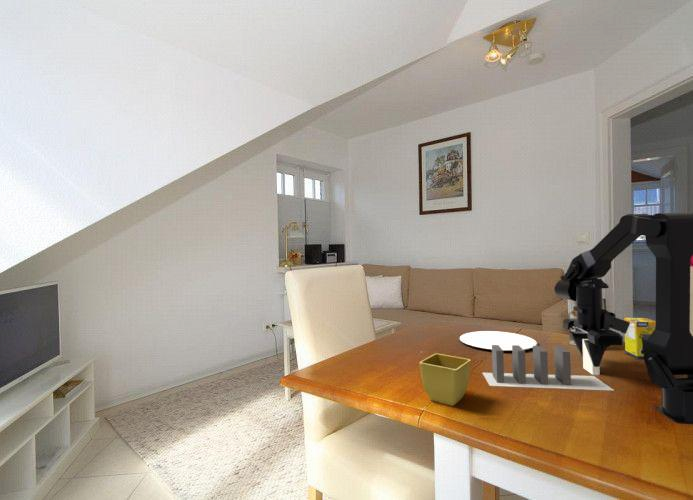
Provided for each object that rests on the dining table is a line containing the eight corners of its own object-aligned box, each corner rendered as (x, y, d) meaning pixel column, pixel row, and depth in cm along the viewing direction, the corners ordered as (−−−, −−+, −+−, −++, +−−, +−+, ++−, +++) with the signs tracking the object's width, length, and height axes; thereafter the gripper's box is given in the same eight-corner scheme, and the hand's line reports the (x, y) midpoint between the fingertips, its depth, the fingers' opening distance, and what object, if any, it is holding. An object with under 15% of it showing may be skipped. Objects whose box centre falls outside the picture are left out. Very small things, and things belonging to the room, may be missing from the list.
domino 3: (548, 384, 84) (547, 351, 84) (541, 384, 84) (540, 351, 84) (540, 377, 89) (539, 345, 89) (533, 376, 89) (532, 345, 89)
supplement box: (660, 359, 100) (659, 321, 100) (636, 359, 102) (635, 321, 102) (647, 353, 106) (646, 317, 106) (624, 352, 107) (623, 317, 107)
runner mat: (614, 392, 80) (614, 390, 80) (489, 387, 85) (489, 385, 85) (594, 377, 89) (593, 376, 89) (482, 374, 94) (482, 372, 94)
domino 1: (504, 383, 86) (503, 350, 86) (497, 382, 86) (496, 350, 86) (499, 375, 91) (498, 345, 91) (492, 375, 91) (491, 344, 91)
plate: (445, 339, 131) (445, 334, 131) (500, 332, 138) (500, 328, 138) (492, 358, 107) (492, 353, 107) (555, 349, 114) (555, 344, 114)
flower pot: (436, 389, 84) (435, 352, 84) (472, 398, 79) (471, 358, 79) (419, 402, 78) (418, 362, 78) (457, 413, 72) (456, 370, 72)
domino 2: (526, 383, 85) (525, 351, 85) (518, 383, 85) (518, 351, 85) (519, 376, 90) (518, 345, 90) (513, 376, 90) (512, 345, 90)
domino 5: (599, 375, 89) (598, 344, 89) (592, 375, 90) (591, 344, 90) (589, 368, 94) (588, 339, 94) (583, 368, 95) (582, 338, 95)
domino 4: (571, 385, 83) (570, 352, 83) (563, 385, 84) (562, 351, 84) (562, 377, 88) (561, 346, 88) (555, 377, 88) (554, 346, 88)
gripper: (647, 310, 81) (649, 377, 81) (604, 298, 100) (605, 353, 100) (594, 310, 83) (596, 375, 83) (561, 298, 102) (562, 352, 102)
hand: (591, 363), depth 92 cm, fingers closed on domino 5, 5 cm apart
